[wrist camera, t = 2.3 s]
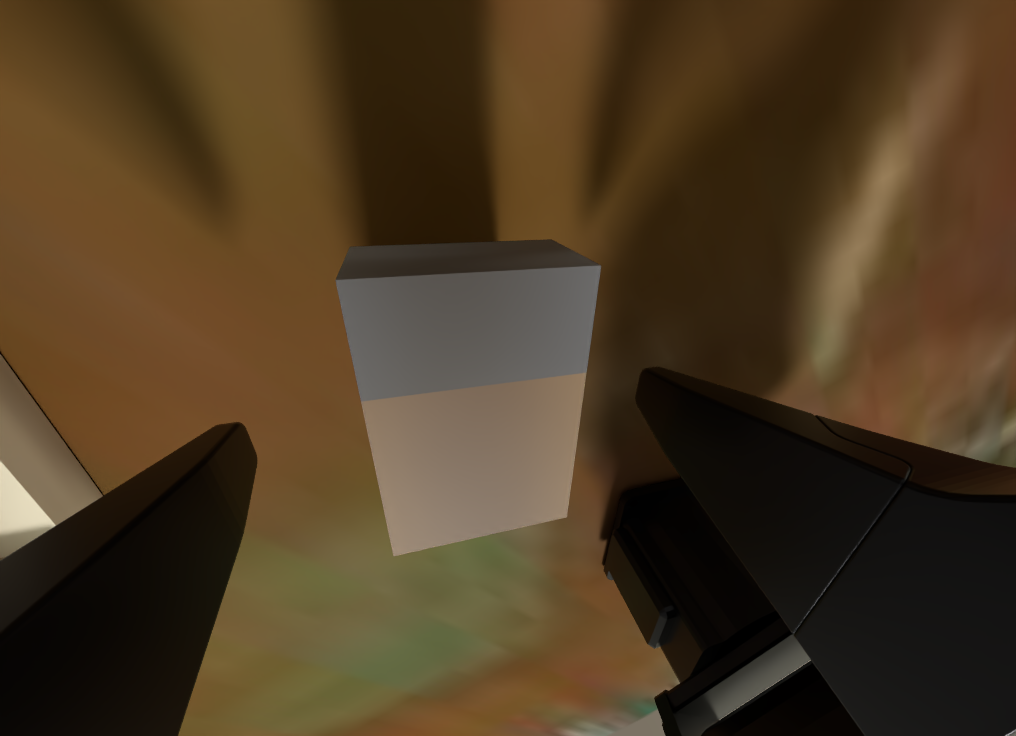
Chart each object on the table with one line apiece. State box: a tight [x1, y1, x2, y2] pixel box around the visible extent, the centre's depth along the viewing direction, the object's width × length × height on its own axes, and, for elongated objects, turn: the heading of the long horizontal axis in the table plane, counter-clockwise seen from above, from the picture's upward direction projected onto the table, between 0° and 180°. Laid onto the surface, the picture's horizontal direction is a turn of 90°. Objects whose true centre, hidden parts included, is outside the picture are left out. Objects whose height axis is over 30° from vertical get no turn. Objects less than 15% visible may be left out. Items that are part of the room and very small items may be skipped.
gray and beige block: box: [336, 240, 601, 556], centre depth 9 cm, size 4×5×6 cm, turn 179°
